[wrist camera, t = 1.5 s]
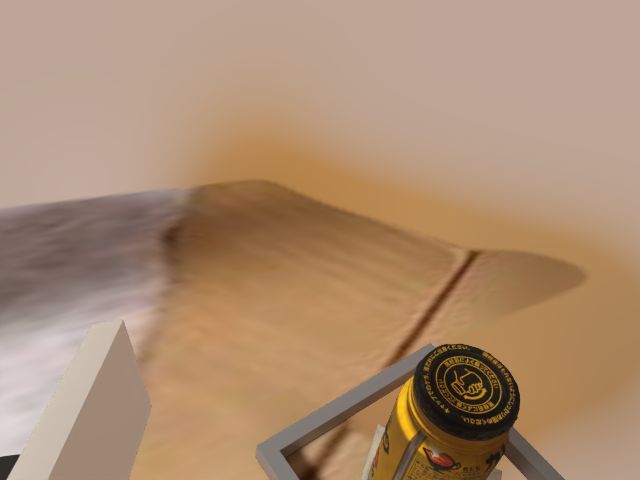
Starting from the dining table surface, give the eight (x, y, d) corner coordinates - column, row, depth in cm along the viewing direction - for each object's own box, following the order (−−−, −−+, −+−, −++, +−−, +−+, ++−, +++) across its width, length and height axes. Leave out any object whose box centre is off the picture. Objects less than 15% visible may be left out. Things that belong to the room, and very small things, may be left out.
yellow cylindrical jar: (377, 425, 40) (418, 310, 32) (501, 472, 39) (577, 365, 31) (344, 528, 35) (384, 423, 27) (486, 588, 34) (573, 496, 25)
